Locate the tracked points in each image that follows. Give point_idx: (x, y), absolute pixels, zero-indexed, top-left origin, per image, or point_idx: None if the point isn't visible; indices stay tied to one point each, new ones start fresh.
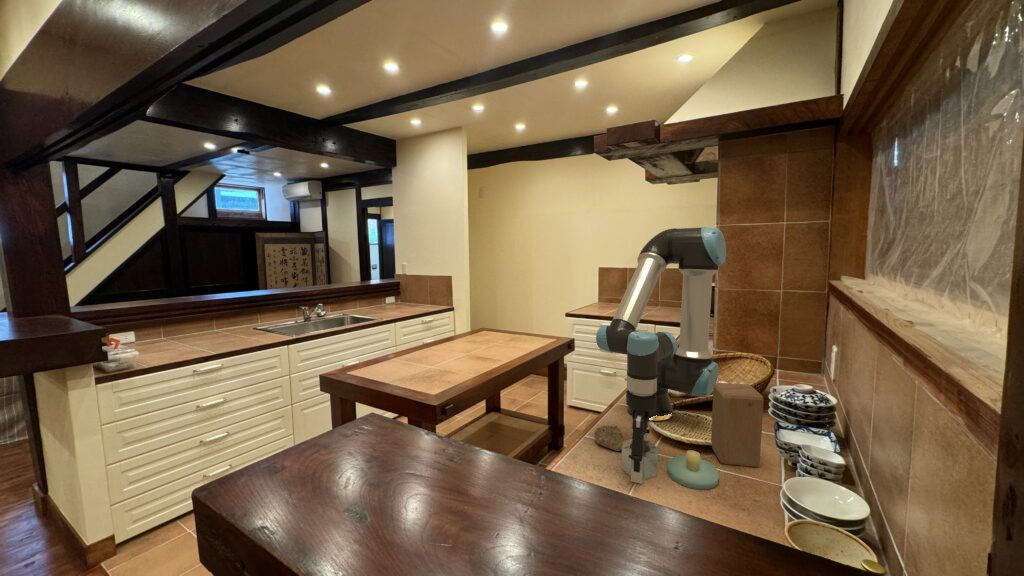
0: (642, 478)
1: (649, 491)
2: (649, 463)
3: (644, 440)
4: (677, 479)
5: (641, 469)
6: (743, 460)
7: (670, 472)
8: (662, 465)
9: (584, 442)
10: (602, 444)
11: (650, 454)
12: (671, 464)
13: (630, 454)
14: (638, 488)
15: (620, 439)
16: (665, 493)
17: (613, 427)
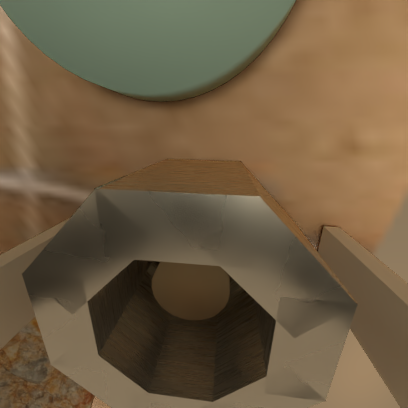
0: (332, 235)
1: (392, 191)
2: (297, 231)
3: (8, 281)
4: (281, 23)
5: (395, 281)
6: None
7: (225, 75)
8: (122, 131)
9: (101, 403)
10: None
11: (282, 261)
12: (149, 64)
13: (322, 400)
14: (371, 239)
15: (32, 338)
16: (403, 107)
17: None
